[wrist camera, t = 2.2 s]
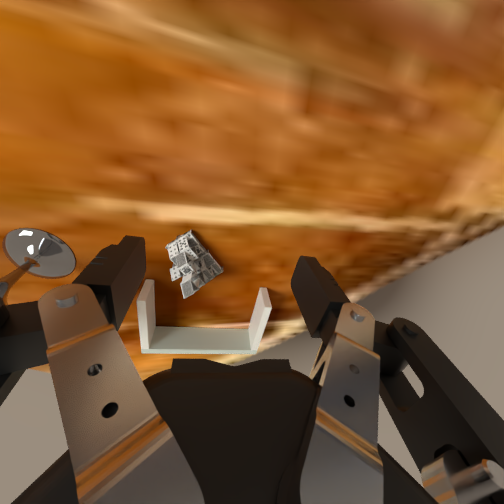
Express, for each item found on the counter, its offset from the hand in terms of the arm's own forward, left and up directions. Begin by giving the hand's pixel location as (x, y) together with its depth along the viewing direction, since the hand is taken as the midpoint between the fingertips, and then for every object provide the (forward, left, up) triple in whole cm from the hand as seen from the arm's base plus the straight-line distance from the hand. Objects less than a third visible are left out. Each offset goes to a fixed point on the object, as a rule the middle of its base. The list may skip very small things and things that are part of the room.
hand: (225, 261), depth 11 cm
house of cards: (+11, -5, -16) cm, 19 cm away
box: (+20, 0, -15) cm, 25 cm away
